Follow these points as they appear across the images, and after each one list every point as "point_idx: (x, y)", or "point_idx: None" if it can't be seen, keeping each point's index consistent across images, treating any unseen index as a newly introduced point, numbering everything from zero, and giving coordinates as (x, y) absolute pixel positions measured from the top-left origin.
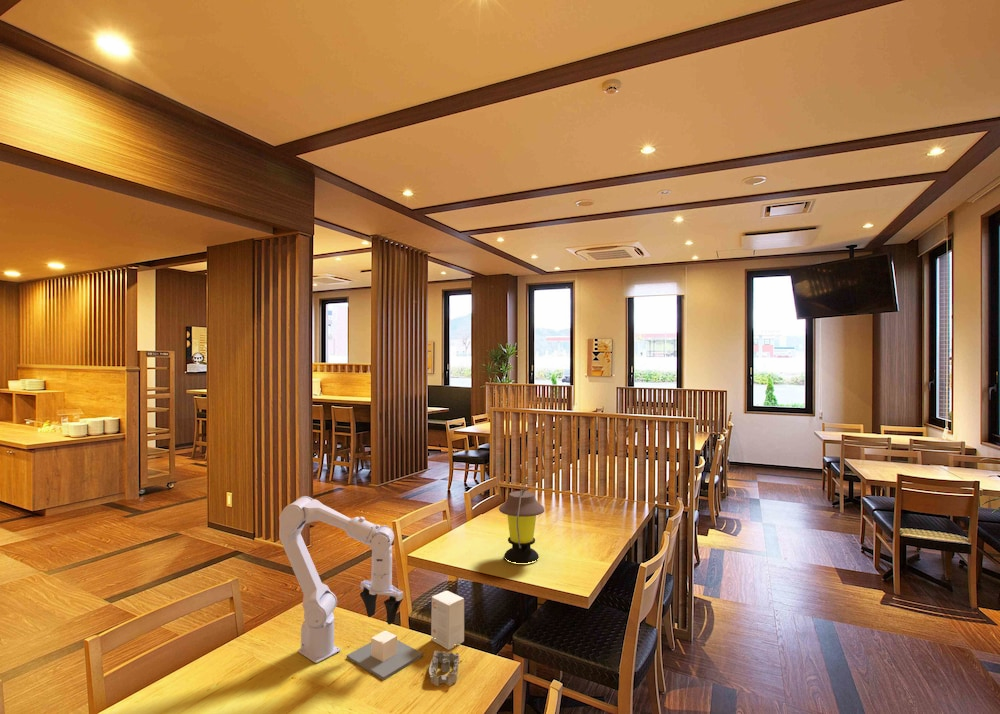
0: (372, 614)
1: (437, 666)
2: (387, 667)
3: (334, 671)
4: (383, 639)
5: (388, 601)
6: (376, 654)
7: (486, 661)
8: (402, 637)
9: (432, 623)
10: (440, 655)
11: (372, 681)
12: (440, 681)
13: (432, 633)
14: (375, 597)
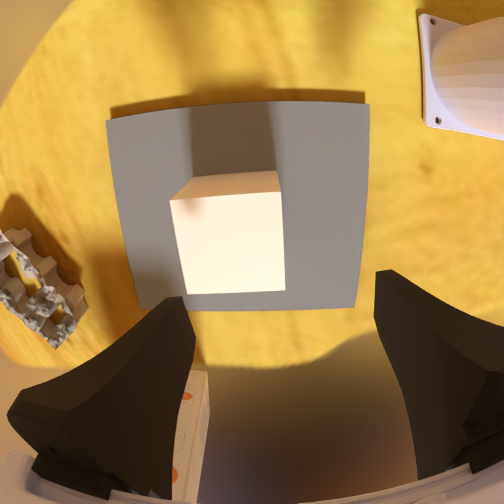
0: (377, 303)
1: (56, 286)
2: (147, 167)
3: (318, 16)
4: (208, 227)
5: (43, 435)
6: (237, 176)
7: (45, 363)
8: (298, 333)
9: (190, 415)
10: (77, 323)
11: (135, 84)
12: (10, 245)
13: (195, 387)
14: (414, 419)
